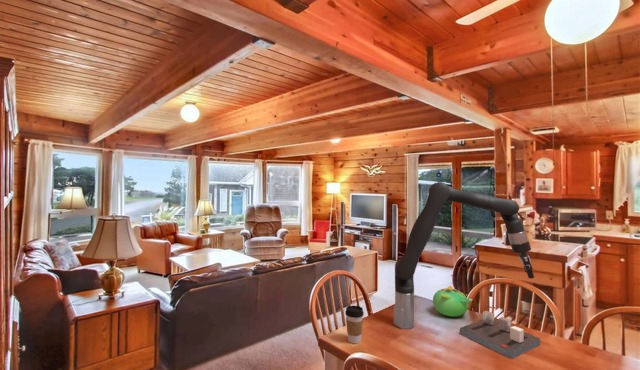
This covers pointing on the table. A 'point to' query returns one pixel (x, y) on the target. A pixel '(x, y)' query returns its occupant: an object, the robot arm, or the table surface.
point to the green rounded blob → (451, 302)
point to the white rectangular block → (517, 334)
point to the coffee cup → (354, 323)
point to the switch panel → (498, 336)
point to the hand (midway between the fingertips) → (529, 274)
